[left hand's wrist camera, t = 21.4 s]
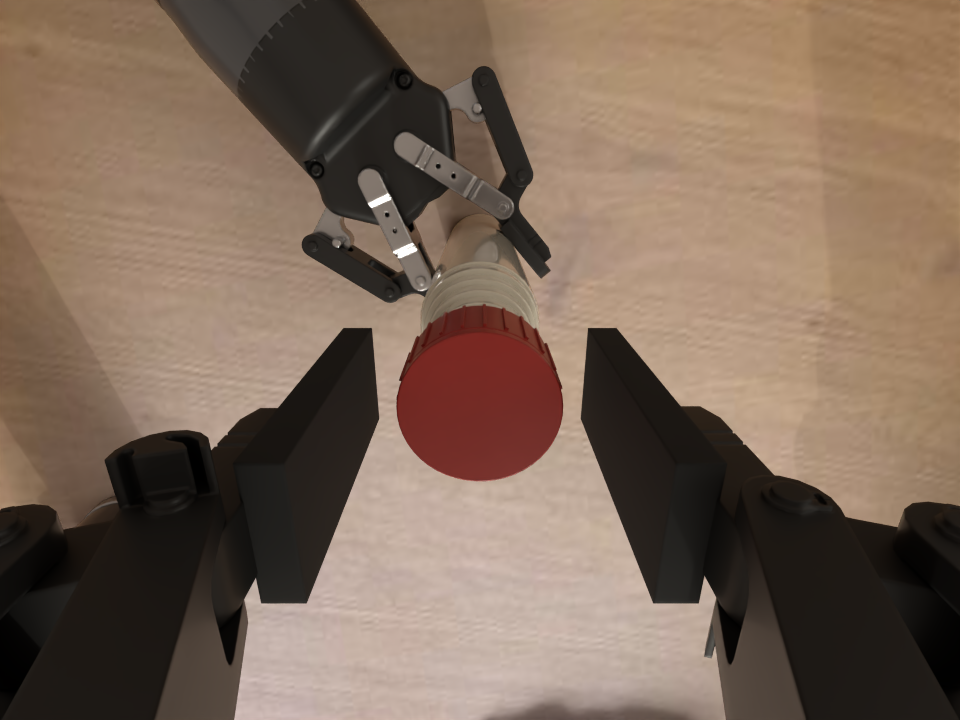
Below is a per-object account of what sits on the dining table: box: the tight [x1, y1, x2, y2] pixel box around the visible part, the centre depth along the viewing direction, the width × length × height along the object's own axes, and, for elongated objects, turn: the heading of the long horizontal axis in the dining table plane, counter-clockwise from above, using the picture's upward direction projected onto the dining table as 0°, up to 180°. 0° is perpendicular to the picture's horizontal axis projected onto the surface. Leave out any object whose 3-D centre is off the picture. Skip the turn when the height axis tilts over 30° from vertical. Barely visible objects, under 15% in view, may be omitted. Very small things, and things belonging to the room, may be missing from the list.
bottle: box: [421, 214, 539, 334], centre depth 24 cm, size 4×4×24 cm
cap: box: [396, 304, 563, 481], centre depth 13 cm, size 4×4×2 cm
